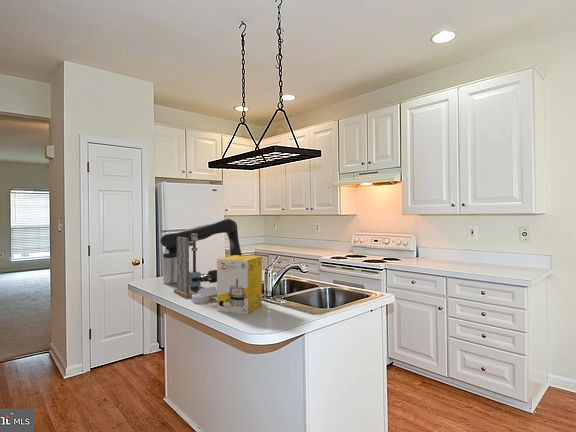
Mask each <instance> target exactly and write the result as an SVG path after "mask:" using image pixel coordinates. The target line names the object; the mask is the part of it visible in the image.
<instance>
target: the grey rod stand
mask: <svg viewBox="0 0 576 432" xmlns="http://www.w3.org/2000/svg"><path fill="white" fill-rule="evenodd" d="M191 240H192V241H193V242H189V238H183V237H177V283H176V288H173V293H174V294H176V295H177V296H180V297H182V298H184V299H192V295H193V294H197V292H198V291H199V290H200V289H202V288H205V287H203V286H195V287H191V286H189V272H190V250H191V252H192V271H193V272H196V271H197V251H198V248H197V247H196V246H197V245H196V244H197V241H196V240H198V234H197V233H192V234H191ZM198 241H199V240H198ZM190 247H191V249H190Z"/></svg>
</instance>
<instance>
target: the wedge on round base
mask: <svg viewBox="0 0 576 432" xmlns="http://www.w3.org/2000/svg"><path fill="white" fill-rule="evenodd" d="M210 296H217V287H216V286H211V287H210V286H209V287H204V288H202V289H200V290H199V291H198V292H197V294H193V295H192V298H191V303H192V304H205V303H208V302H210Z"/></svg>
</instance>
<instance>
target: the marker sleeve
mask: <svg viewBox="0 0 576 432" xmlns="http://www.w3.org/2000/svg"><path fill="white" fill-rule="evenodd" d="M201 274H202V273H201V271H198V270H196V272H193V270H192V271H189V287H195V286H201V283H202V282H201V281H200V282H199V281H197V282H192V278H197V277H198V278H199V277H201ZM201 287H202V286H201Z"/></svg>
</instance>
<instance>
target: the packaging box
mask: <svg viewBox="0 0 576 432" xmlns="http://www.w3.org/2000/svg"><path fill="white" fill-rule="evenodd" d="M262 258H263V257H262V256H261V255H258V256H256V255H255V256H254V255H242V256H238V255H233V256H231V255H230V256H225V257H221V258H218V259H216V270H217V282H216V290H217V294H216V296H217V299H216V306H217V307H216V308H217V309H216V310H217V312H224V313H233V314H242V315H249V314H251V313H252V312H253V311H256V310H257V309H258V308H260V307H262V305H263V296H262V295H263V292H262V291H263V284H262V283H263V282H262V281H263V279H262V278H263V277H262V275H263V273H262V272H263V271H262V270H263V268H262V267H263V266H262V265H263V264H262V263H263V260H262Z"/></svg>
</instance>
